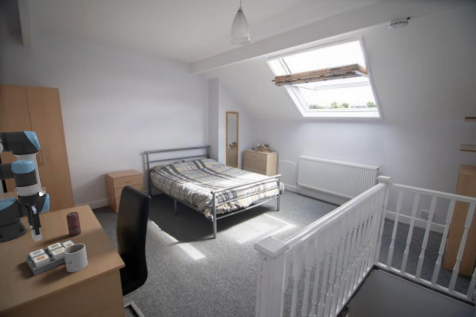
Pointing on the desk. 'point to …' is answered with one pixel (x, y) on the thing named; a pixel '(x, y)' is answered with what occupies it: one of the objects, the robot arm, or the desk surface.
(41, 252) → the key slate
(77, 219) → the can
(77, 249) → the mug
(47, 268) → the keypad
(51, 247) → the key olive
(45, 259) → the key rust
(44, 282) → the desk surface
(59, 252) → the key sand
